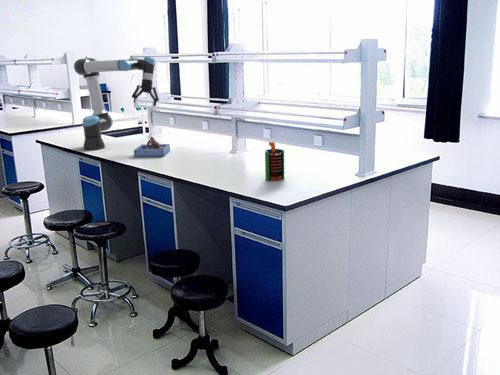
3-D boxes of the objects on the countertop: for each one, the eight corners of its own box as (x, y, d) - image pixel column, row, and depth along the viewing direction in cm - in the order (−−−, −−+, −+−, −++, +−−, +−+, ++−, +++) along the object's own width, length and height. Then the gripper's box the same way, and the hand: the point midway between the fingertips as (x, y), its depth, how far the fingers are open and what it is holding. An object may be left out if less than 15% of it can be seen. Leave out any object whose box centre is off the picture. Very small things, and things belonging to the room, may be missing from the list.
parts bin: (134, 157, 342) (133, 149, 340) (142, 151, 359) (141, 144, 357) (163, 156, 340) (163, 149, 338) (170, 151, 357) (169, 144, 356)
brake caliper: (140, 150, 346) (146, 134, 350) (149, 157, 355) (155, 141, 358) (152, 151, 340) (158, 135, 344) (162, 158, 349) (168, 143, 352)
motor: (272, 182, 268) (271, 145, 263) (261, 179, 275) (260, 142, 270) (286, 178, 274) (286, 142, 268) (276, 175, 281) (275, 140, 275)
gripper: (165, 81, 364) (162, 111, 367) (133, 77, 369) (130, 107, 371) (161, 80, 356) (158, 111, 359) (128, 76, 361) (125, 106, 364)
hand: (144, 109), depth 365 cm, fingers open, 13 cm apart
